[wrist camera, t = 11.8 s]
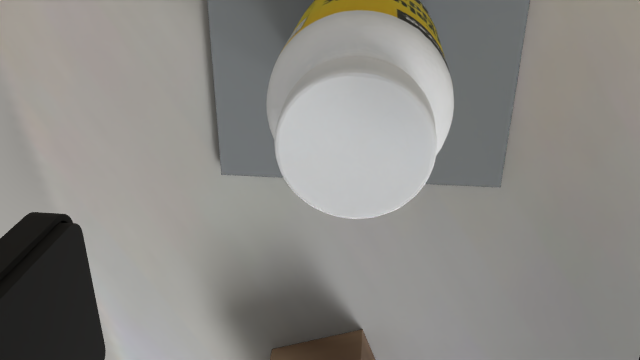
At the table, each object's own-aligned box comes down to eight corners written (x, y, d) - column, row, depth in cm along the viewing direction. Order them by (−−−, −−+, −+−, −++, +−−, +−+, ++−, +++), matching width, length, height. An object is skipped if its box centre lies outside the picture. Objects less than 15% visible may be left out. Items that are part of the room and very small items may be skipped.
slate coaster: (547, -133, 21) (551, -133, 20) (498, 180, 26) (500, 187, 26) (200, -134, 22) (196, -134, 21) (224, 168, 27) (221, 174, 26)
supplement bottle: (463, 10, 22) (513, 102, 14) (397, 132, 25) (404, 276, 16) (329, -53, 22) (293, 2, 13) (275, 79, 24) (215, 197, 16)
